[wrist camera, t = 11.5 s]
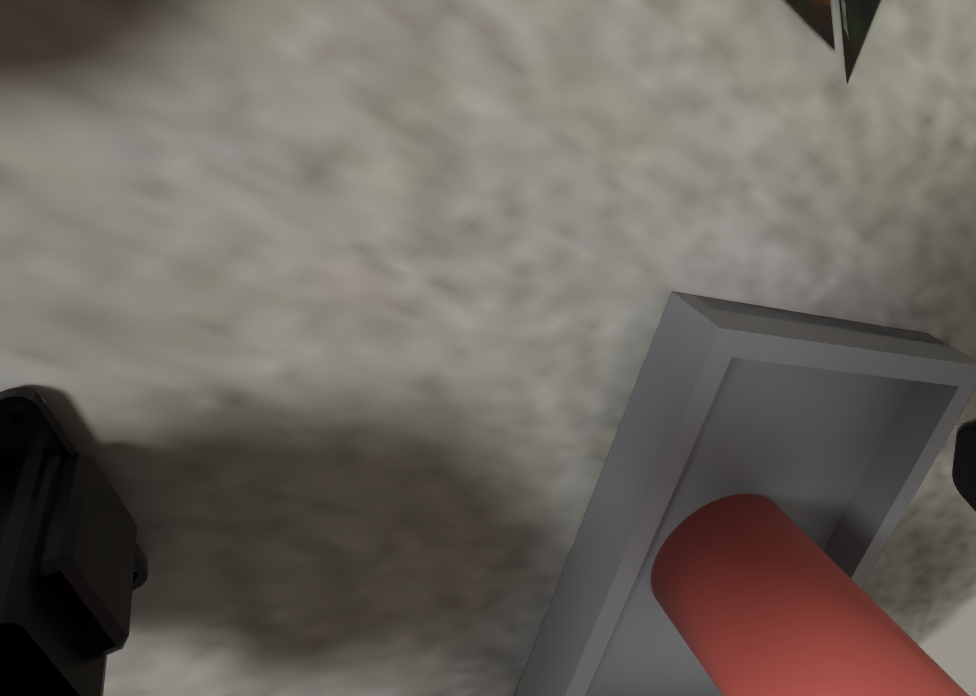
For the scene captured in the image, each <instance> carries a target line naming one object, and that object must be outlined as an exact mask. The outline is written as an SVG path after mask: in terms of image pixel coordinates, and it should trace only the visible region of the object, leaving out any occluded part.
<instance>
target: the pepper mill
mask: <svg viewBox="0 0 976 696" xmlns="http://www.w3.org/2000/svg"><path fill="white" fill-rule="evenodd" d="M651 588H652V592H653V595H654V597H655V599H656V600H657V602H658V603H659V604H660V606H661V607H662V609H663V610H664V612H665V613H666V615H667V616H668V617H669V619H670V620H671V622H672V623H673V625H674V626H675V628H676V629H677V630H678V632H679V633H680V635H681V636H682V638H683V639H684V641H685V642H686V643H687V645H688V646H689V648H690V649H691V651H692V652H693V654H694V655H695V656H696V658H697V659H698V661H699V662H700V664H701V665H702V667H703V668H704V669H705V671H706V672H707V674H708V675H709V677H710V678H711V680H712V681H713V682H714V684H715V685H716V687H717V688H718V690H719V691H720V693H721V694H722V695H723V696H969V695H968V694H967V693H966V692H965V691H964V690H963V689H962V688H961V687H959V685H958V684H957V683H956V682H955V681H954V680H953V679H952V678H951V677H950V676H949V675H948V674H947V673H946V672H945V671H944V670H943V669H941V667H940V666H938V664H937V663H935V662H934V661H933V660H932V659H931V658H930V657H929V656H928V655H927V654H926V653H925V652H924V651H923V650H922V649H921V648H920V647H919V646H918V645H917V644H916V643H915V642H914V641H913V640H912V639H911V638H910V637H909V636H908V635H907V634H906V633H905V632H904V631H903V630H902V629H901V628H900V627H899V626H898V625H897V624H896V623H895V622H894V621H893V620H892V619H891V618H890V617H889V616H888V615H887V614H886V613H885V612H884V611H883V610H882V609H881V608H880V607H879V606H878V605H877V604H876V603H875V602H874V601H873V600H872V599H871V598H870V597H869V596H868V595H867V594H866V593H865V592H864V591H863V590H862V589H861V588H860V587H859V586H858V585H857V584H856V583H855V582H854V581H853V580H852V579H851V578H850V577H849V576H848V575H847V574H846V573H845V572H844V571H843V570H842V569H841V568H840V567H839V566H838V565H837V564H836V563H835V562H834V561H833V560H832V559H831V558H830V557H829V556H828V555H827V554H826V553H825V552H824V551H822V550H821V549H820V548H819V547H818V546H817V545H816V544H815V543H814V542H813V541H812V540H811V539H810V538H809V537H808V536H807V535H806V534H805V533H804V532H803V531H802V530H801V529H800V528H799V527H798V526H797V525H796V524H795V523H794V522H793V521H792V520H791V519H790V518H789V517H788V516H787V515H786V514H785V513H784V512H783V511H782V510H781V509H780V508H779V507H778V506H777V505H776V504H775V503H774V502H772V501H771V500H770V499H768V498H766V497H763V496H760V495H756V494H737V495H731V496H727V497H724V498H721V499H718V500H716V501H713V502H711V503H709V504H707V505H705V506H703V507H702V508H700V509H698V510H697V511H695V512H694V513H692V514H691V515H690V516H688V517H687V518H686V519H685V520H684V521H682V522H681V523H680V524H679V525H678V526H677V527H676V528H675V529H674V530H673V531H672V532H671V534H670V535H669V536H668V537H667V539H666V540H665V541H664V543H663V545H662V546H661V548H660V550H659V551H658V553H657V555H656V558H655V560H654V563H653V567H652V571H651Z"/></svg>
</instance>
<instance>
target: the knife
mask: <svg viewBox="0 0 976 696" xmlns="http://www.w3.org/2000/svg"><path fill="white" fill-rule="evenodd" d="M787 1H788V2H789V3H790V4H791V5H792V6H793V7H794V8H795V9H796V10H797V12H798V13H799V14H800V15H801V16H802V17H803V18H804V19H805V20H806V21H807V22H808V23H809V24H810V25H811V26H812V27H813V28H814V29H815V30H816V31H817V32H818V33H819V34H820V35H821V36H822V37H823V38H824V39H825V40H826V41H827V42H828V43H829V44H830V45H831V46H832V48H833V49H834V50H835V48H834V38H833V27H832V17H831V6H830V0H787ZM880 1H881V0H840V11H841V22H842V34H843V45H844V56H845V67H846V79H847V83H848V80H849V78H850V75H851V73H852V70H853V68H854V65H855V63H856V60H857V58H858V55H859V53H860V50H861V48H862V45H863V43H864V40H865V38H866V35H867V33H868V30H869V28H870V26H871V23H872V21H873V18H874V16H875V13H876V11H877V8H878V6H879V3H880Z"/></svg>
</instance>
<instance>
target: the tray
mask: <svg viewBox="0 0 976 696" xmlns="http://www.w3.org/2000/svg"><path fill="white" fill-rule="evenodd" d="M975 388H976V360H974V359H972V358H970V357H969V356H967V355H965V354H963V353H961V352H960V351H958V350H956V349H954V348H952V347H951V346H949V345H947V344H945V343H943V342H942V341H940V340H938V339H936V338H934V337H933V336H931V335H929V334H926V333H920V332H914V331H908V330H902V329H896V328H890V327H884V326H877V325H871V324H865V323H859V322H853V321H847V320H841V319H835V318H829V317H823V316H817V315H810V314H804V313H798V312H792V311H786V310H780V309H774V308H768V307H762V306H756V305H750V304H743V303H737V302H731V301H725V300H719V299H713V298H707V297H701V296H695V295H689V294H683V293H676V292H672V293H671V296H670V298H669V301H668V303H667V306H666V308H665V311H664V314H663V316H662V319H661V321H660V324H659V326H658V329H657V332H656V334H655V337H654V339H653V342H652V344H651V347H650V350H649V352H648V355H647V357H646V360H645V362H644V365H643V368H642V370H641V373H640V375H639V378H638V380H637V383H636V386H635V388H634V391H633V393H632V396H631V398H630V401H629V404H628V406H627V409H626V411H625V414H624V416H623V419H622V422H621V424H620V427H619V429H618V432H617V434H616V437H615V440H614V442H613V445H612V447H611V450H610V452H609V455H608V458H607V460H606V463H605V465H604V468H603V470H602V473H601V476H600V478H599V481H598V483H597V486H596V488H595V491H594V494H593V496H592V499H591V501H590V504H589V506H588V509H587V512H586V514H585V517H584V519H583V522H582V524H581V527H580V530H579V532H578V535H577V537H576V540H575V542H574V545H573V548H572V550H571V553H570V555H569V558H568V560H567V563H566V566H565V568H564V571H563V573H562V576H561V578H560V581H559V584H558V586H557V589H556V591H555V594H554V596H553V599H552V602H551V604H550V607H549V609H548V612H547V614H546V617H545V620H544V622H543V625H542V627H541V630H540V632H539V635H538V638H537V640H536V643H535V645H534V648H533V650H532V653H531V656H530V658H529V661H528V663H527V666H526V668H525V671H524V674H523V676H522V679H521V681H520V684H519V686H518V689H517V692H516V694H515V696H723V695H722V694H721V693H720V691H719V690H718V688H717V687H716V685H715V684H714V682H713V681H712V680H711V678H710V677H709V675H708V674H707V672H706V671H705V669H704V668H703V667H702V665H701V664H700V662H699V661H698V659H697V658H696V656H695V655H694V654H693V652H692V651H691V649H690V648H689V646H688V645H687V643H686V642H685V641H684V639H683V638H682V636H681V635H680V633H679V632H678V630H677V629H676V628H675V626H674V625H673V623H672V622H671V620H670V619H669V617H668V616H667V615H666V613H665V612H664V610H663V609H662V607H661V606H660V604H659V603H658V602H657V600H656V599H655V597H654V595H653V592H652V588H651V571H652V567H653V563H654V560H655V558H656V555H657V553H658V551H659V550H660V548H661V546H662V545H663V543H664V541H665V540H666V539H667V537H668V536H669V535H670V534H671V532H672V531H673V530H674V529H675V528H676V527H677V526H678V525H679V524H680V523H681V522H682V521H684V520H685V519H686V518H687V517H688V516H690V515H691V514H692V513H694V512H695V511H697V510H698V509H700V508H702V507H703V506H705V505H707V504H709V503H711V502H713V501H716V500H718V499H721V498H724V497H727V496H731V495H737V494H756V495H760V496H763V497H766V498H768V499H770V500H771V501H772V502H774V503H775V504H776V505H777V506H778V507H779V508H780V509H781V510H782V511H783V512H784V513H785V514H786V515H787V516H788V517H789V518H790V519H791V520H792V521H793V522H794V523H795V524H796V525H797V526H798V527H799V528H800V529H801V530H802V531H803V532H804V533H805V534H806V535H807V536H808V537H809V538H810V539H811V540H812V541H813V542H814V543H815V544H816V545H817V546H818V547H819V548H820V549H821V550H822V551H824V552H825V553H826V554H827V555H828V556H829V557H830V558H831V559H832V560H833V561H834V562H835V563H836V564H837V565H838V566H839V567H840V568H841V569H842V570H843V571H844V572H845V573H846V574H847V575H848V576H849V577H850V578H851V579H852V580H853V581H854V582H855V583H856V584H857V585H858V586H859V587H860V588H861V587H862V586H863V584H864V582H865V580H866V579H867V577H868V575H869V574H870V572H871V570H872V568H873V567H874V565H875V563H876V561H877V560H878V558H879V556H880V554H881V553H882V551H883V549H884V547H885V546H886V544H887V542H888V540H889V539H890V537H891V535H892V533H893V532H894V530H895V528H896V526H897V525H898V523H899V521H900V519H901V518H902V516H903V514H904V512H905V511H906V509H907V507H908V505H909V504H910V502H911V500H912V498H913V497H914V495H915V493H916V491H917V490H918V488H919V486H920V484H921V483H922V481H923V479H924V477H925V476H926V474H927V472H928V471H929V469H930V467H931V465H932V464H933V462H934V460H935V458H936V457H937V455H938V453H939V451H940V450H941V448H942V446H943V444H944V443H945V441H946V439H947V437H948V436H949V434H950V432H951V430H952V429H953V427H954V425H955V423H956V422H957V420H958V418H959V416H960V415H961V413H962V411H963V409H964V408H965V406H966V404H967V402H968V401H969V399H970V397H971V395H972V394H973V392H974V390H975Z"/></svg>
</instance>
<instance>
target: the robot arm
mask: <svg viewBox="0 0 976 696" xmlns="http://www.w3.org/2000/svg"><path fill="white" fill-rule="evenodd" d="M16 405H18V406H22V407H25V408H26V409H27V410H28V411H29V413H28V414H26V415H21V416H19V415H15V414H12V413H11V412H10V411H9V410H8V408H9V407H10V406H16ZM952 477H953V481H954V484H955V486H956V488H957V490H958V491H959V493H960V494H961V496H962V497H963V498H964V499H965V500H966V501H967V502H968V503H969V505H970V506H971V507H972V508H973V509H974V510H975V511H976V418H974V419H972V420H969V421H967V422H965V423H963V424H962V425H961V426H960V427H959V429H958V431H957V435H956V444H955V452H954V461H953V470H952ZM136 531H137V526H136V524H135V522H134V520H133V519H132V517H131V516H130V514H129V513H128V511H127V509H126V508H125V506H124V505H123V503H122V502H121V500H120V499H119V497H118V495H117V494H116V492H115V491H114V489H113V488H112V486H111V485H110V483H109V481H108V480H107V478H106V477H105V475H104V474H103V472H102V471H101V469H100V467H99V466H98V464H97V463H96V461H95V460H94V458H93V457H92V456H89V455H87V454H85V453H82V452H78V453H77V452H76V450H75V449H74V447H73V445H72V444H71V442H70V441H69V439H68V438H67V436H66V435H65V433H64V432H63V430H62V429H61V427H60V426H59V424H58V423H57V421H56V419H55V418H54V416H53V415H52V413H51V412H50V410H49V409H48V407H47V406H46V404H45V403H44V401H43V400H42V398H41V397H40V396H39V395H38V394H37V393H36V392H34V391H31V390H29V389H26V388H12V389H7V390H5V391H2V392H0V696H103V690H104V680H105V671H106V661H107V655H108V654H110V653H113V652H115V651H118V650H120V649H122V648H123V647H124V644H125V642H126V640H127V638H128V636H129V626H130V612H131V599H132V590H134V589H136V588H138V587H140V586H141V585H143V583H144V582H145V581H146V580H147V575H148V562H147V559H146V557H145V556H144V554H143V553H142V551H141V550H140V548H139V546H138V545H137V543H136ZM134 570H135V571H134Z"/></svg>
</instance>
